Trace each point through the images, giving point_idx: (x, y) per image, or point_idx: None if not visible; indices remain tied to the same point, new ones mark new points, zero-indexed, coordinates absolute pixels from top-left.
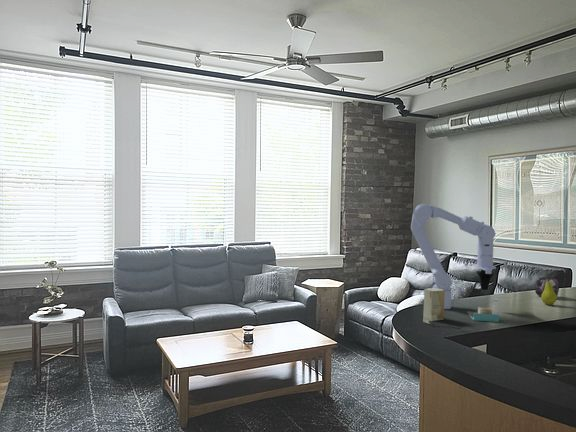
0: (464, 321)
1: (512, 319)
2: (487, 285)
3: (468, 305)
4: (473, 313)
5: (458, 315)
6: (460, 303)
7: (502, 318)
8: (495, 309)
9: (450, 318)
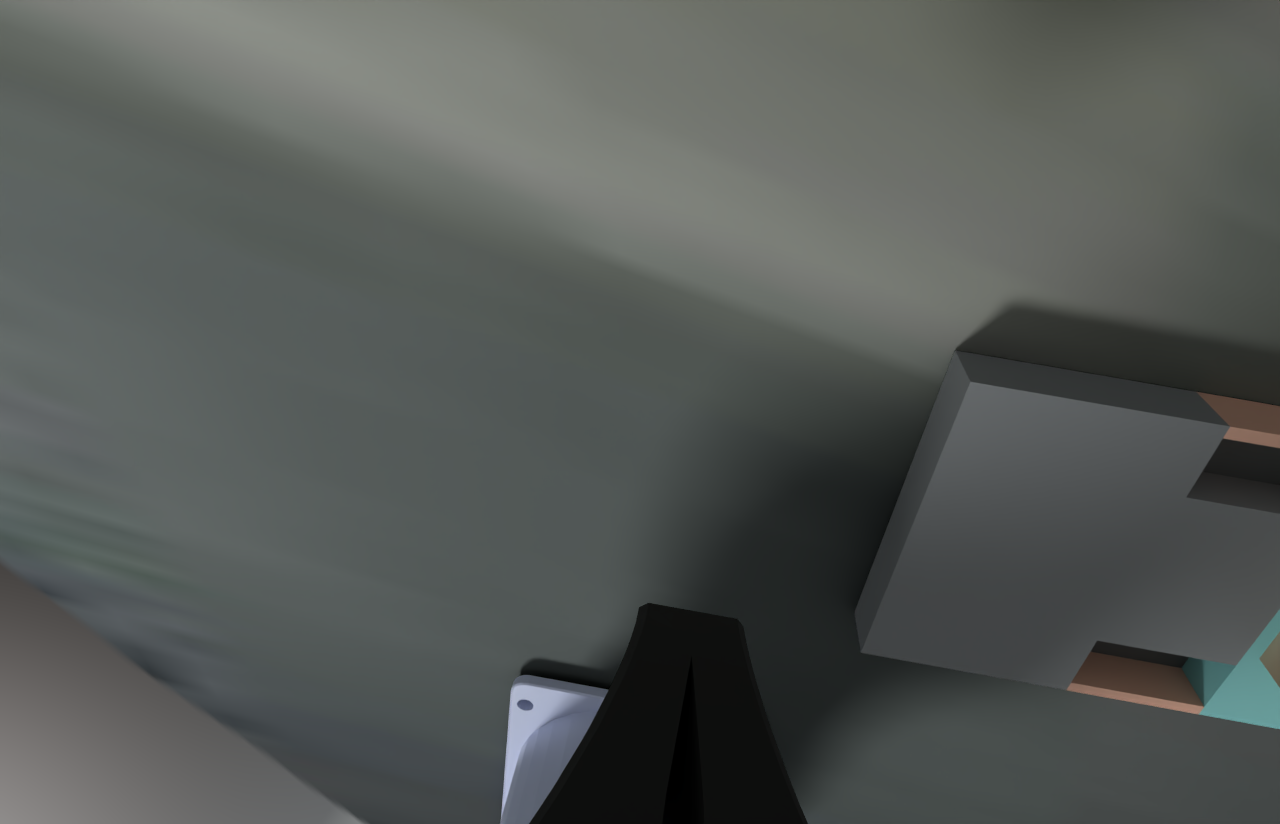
0: (1175, 731)
1: (1218, 2)
2: (755, 742)
3: (181, 383)
4: (998, 623)
5: (860, 692)
6: (85, 446)
7: (1101, 181)
8: (343, 11)
9: (1006, 800)
